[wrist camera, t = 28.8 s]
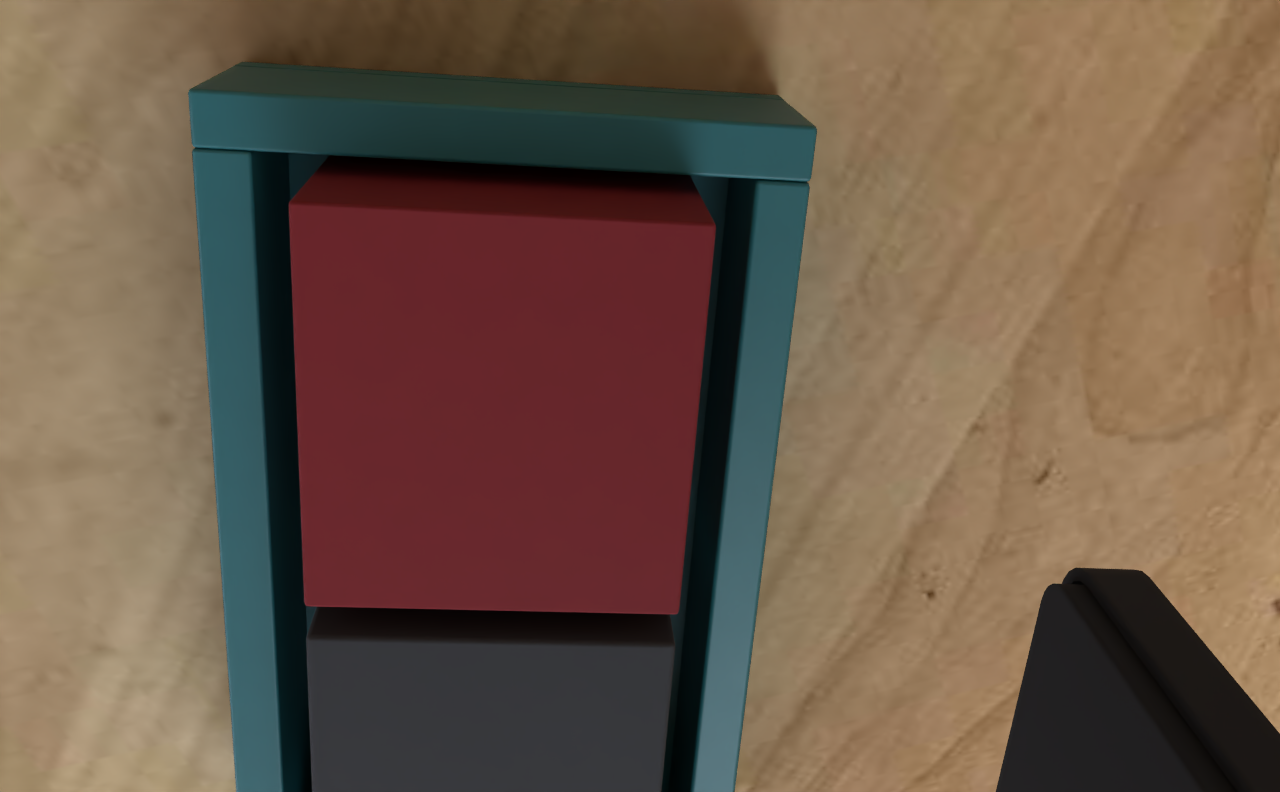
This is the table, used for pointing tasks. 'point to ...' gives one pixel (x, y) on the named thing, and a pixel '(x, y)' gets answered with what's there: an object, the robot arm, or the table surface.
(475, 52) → the table surface
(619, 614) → the dark grey block
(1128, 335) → the table surface
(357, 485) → the dark red block
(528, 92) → the holder
